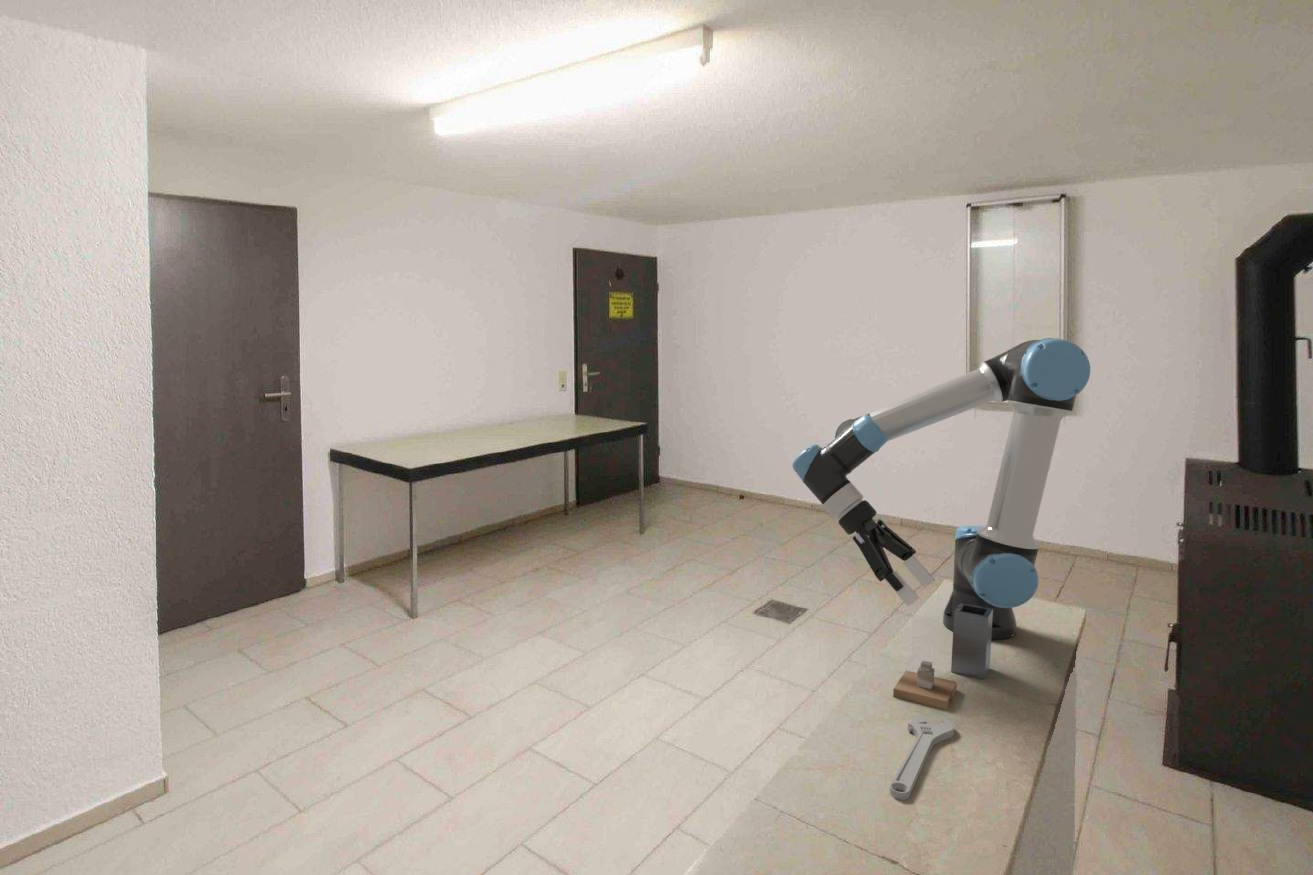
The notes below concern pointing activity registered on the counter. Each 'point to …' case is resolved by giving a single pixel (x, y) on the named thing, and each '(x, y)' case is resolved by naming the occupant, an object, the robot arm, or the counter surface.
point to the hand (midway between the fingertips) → (922, 593)
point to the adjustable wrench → (918, 753)
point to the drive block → (925, 687)
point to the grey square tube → (972, 640)
